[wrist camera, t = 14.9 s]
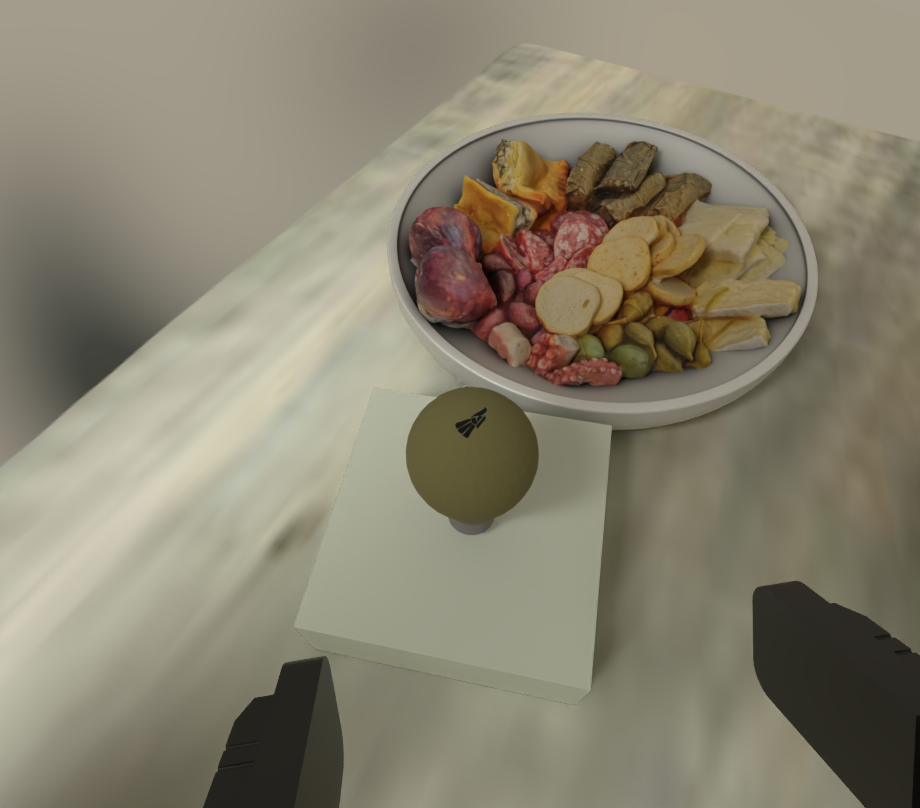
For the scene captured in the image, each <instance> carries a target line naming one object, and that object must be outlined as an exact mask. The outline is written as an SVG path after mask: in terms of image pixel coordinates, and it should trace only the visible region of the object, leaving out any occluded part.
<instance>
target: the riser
mask: <svg viewBox="0 0 920 808" xmlns="http://www.w3.org/2000/svg"><path fill="white" fill-rule="evenodd" d="M436 398H437V397H432V396H426V395H419V394H413V393H407V392H401V391H395V390H389V389H382V388H376V387H374V388H373V391H372V394H371V397H370V400H369V403H368V406H367V409H366V412H365V415H364V418H363V421H362V424H361V427H360V429H359V432H358V435H357V438H356V441H355V444H354V447H353V450H352V453H351V456H350V459H349V462H348V465H347V468H346V471H345V474H344V477H343V480H342V483H341V486H340V489H339V492H338V495H337V498H336V501H335V504H334V507H333V510H332V513H331V516H330V519H329V522H328V525H327V527H326V530H325V533H324V536H323V539H322V542H321V545H320V548H319V551H318V554H317V557H316V560H315V563H314V566H313V569H312V572H311V575H310V578H309V581H308V584H307V587H306V590H305V593H304V596H303V599H302V602H301V605H300V608H299V611H298V614H297V617H296V620H295V623H294V625H293V627H294V628H295V629H296V630H297V631H298V632H299V633H300V634H301V635H302V636H303V637H304V638H305V639H306V640H307V641H308V642H309V643H310V644H311V645H312V646H313V647H314V648H315V649H317V650H322V651H327V652H331V653H336V654H340V655H345V656H350V657H354V658H359V659H363V660H368V661H373V662H377V663H382V664H386V665H391V666H396V667H400V668H405V669H409V670H414V671H419V672H423V673H428V674H433V675H437V676H442V677H446V678H451V679H456V680H460V681H465V682H469V683H474V684H479V685H483V686H488V687H492V688H497V689H502V690H506V691H511V692H515V693H520V694H525V695H529V696H534V697H538V698H543V699H548V700H552V701H557V702H562V703H566V704H571V705H576V704H577V703H578V702H579V701H580V700H581V699H582V698H583V697H584V696H585V695H586V694H587V693H588V692H590V691H591V681H592V668H593V656H594V643H595V631H596V618H597V606H598V594H599V581H600V569H601V556H602V544H603V531H604V519H605V507H606V494H607V482H608V469H609V457H610V445H611V432H612V426H611V425H605V424H599V423H592V422H586V421H580V420H574V419H568V418H562V417H555V416H549V415H543V414H537V413H531V412H524V411H523V412H524V413H525V414H526V416H527V417H528V419H529V420H530V422H531V424H532V426H533V429H534V431H535V433H536V437H537V441H538V449H539V461H538V468H537V472H536V475H535V477H534V480H533V483H532V485H531V487H530V489H529V490H528V492H527V493H526V495H525V496H524V497H523V498H522V500H521V501H520V502H519V503H518V504H517V505H516V506H515V507H514V508H512V509H511V510H509V511H508V512H506V513H505V514H503V515H501V516H498V517H496V518H494V521H493V523H492V525H491V526H490V527H489V528H488V529H487V530H486V531H485V532H483V533H481V534H477V535H465V534H462V533H460V532H458V531H457V530H456V529H454V527H453V526H452V525H451V523H450V522H449V518H448V517H446V516H444V515H442V514H440V513H438V512H437V511H435V510H434V509H433V508H431V507H430V506H429V505H428V504H427V503H426V502H425V501H424V500H423V499H422V497H421V496H420V495H419V494H418V493H417V491H416V489H415V487H414V486H413V484H412V482H411V479H410V476H409V473H408V469H407V464H406V445H407V439H408V435H409V432H410V430H411V427H412V425H413V423H414V421H415V420H416V418H417V417H418V415H419V413H420V412H421V411H422V410H423V409H424V408H425V407H426V406H427V405H428V403H430V402H431V401H433V400H434V399H436Z"/></svg>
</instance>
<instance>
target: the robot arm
mask: <svg viewBox="0 0 920 808" xmlns="http://www.w3.org/2000/svg"><path fill="white" fill-rule="evenodd" d="M753 659H754V667H755V671H756V674H757V677H758V680H759V682H760V685H761V687H762V689H763V690H764V692H765V693H766V695H767V696H768V697H769V699H770V700H771V701H772V702H773V703H774V704H775V706H776V707H777V708H778V709H779V710H780V711H781V712H782V713H783V715H784V716H785V717H786V718H787V719H788V720H789V721H790V723H791V724H792V725H793V726H794V727H795V728H796V729H797V730H798V732H799V733H800V734H801V735H802V736H803V737H804V738H805V740H806V741H807V742H808V743H809V744H810V745H811V746H812V748H813V749H814V750H815V751H816V752H817V753H818V754H819V755H820V757H821V758H822V759H823V760H824V761H825V762H826V763H827V765H828V766H829V767H830V768H831V769H832V770H833V771H834V773H835V774H836V775H837V776H838V777H839V778H840V779H841V780H842V782H843V783H844V784H845V785H846V786H847V787H848V788H849V790H850V791H851V792H852V793H853V794H854V795H855V796H856V798H857V799H858V800H859V801H860V802H861V803H862V804H863V805H864V807H865V808H920V655H918V654H917V653H912V652H911V649H910V648H909V647H907V646H906V645H905V644H903V643H902V642H901V641H899V640H898V639H896V638H892V637H891V636H890V633H888V632H887V631H885V630H884V629H883V628H881V627H880V626H879V625H877V624H876V623H874V622H873V621H872V620H870V619H869V618H868V617H866V616H864V615H862V614H859V613H857V612H855V611H852V610H850V609H847V608H845V607H843V606H840V605H838V604H836V603H832V604H830V603H829V602H827V601H826V600H825V599H823V598H822V597H821V596H819V595H818V594H817V593H815V592H814V591H813V590H811V589H810V588H809V587H807V586H806V585H805V584H803V583H802V582H799V581H792V582H786V583H780V584H773V585H767V586H761V587H757V588H756V589H755V591H754V593H753ZM343 761H344V756H343V738H342V730H341V724H340V719H339V713H338V708H337V702H336V697H335V692H334V686H333V681H332V675H331V670H330V665H329V661H328V659H327V657H326V656H323V657H317V658H311V659H305V660H298V661H292V662H286V663H284V664H283V666H282V669H281V672H280V676H279V679H278V683H277V686H276V689H275V693H274V695H270V696H264V697H258V698H254V699H253V700H252V702H251V703H250V704H249V705H248V706H247V707H246V709H245V710H244V711H243V712H242V713H241V714H240V716H239V717H238V718H237V719H236V720H235V722H234V725H233V727H232V730H231V733H230V735H229V738H228V741H227V744H226V751H224V752H223V755H222V757H221V760H220V763H219V766H218V772H216V774H215V777H214V779H213V782H212V785H211V787H210V790H209V793H208V796H207V798H206V801H205V804H204V807H203V808H339V803H340V794H341V785H342V776H343Z"/></svg>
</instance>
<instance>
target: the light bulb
mask: <svg viewBox="0 0 920 808" xmlns="http://www.w3.org/2000/svg"><path fill="white" fill-rule="evenodd" d="M538 461H539V449H538V441H537V437H536V433H535V431H534V429H533V426H532V424H531V422H530V420H529V419H528V417H527V416H526V414H525V413H524V412H523V410H522V409H521V408H520V407H519V406H518V405H517V404H516V403H515V402H513V401H512V400H510V399H509V398H507V397H506V396H504V395H502V394H500V393H498V392H495V391H493V390H489V389H485V388H479V387H466V388H459V389H455V390H451V391H449V392H447V393H445V394H442V395H440V396H439V397H437V398H436V399H434V400H433V401H431V402H430V403H428V405H427V406H426V407H425V408H424V409H423V410H422V411H421V412H420V413H419V415H418V417H417V418H416V420H415V421H414V423H413V425H412V427H411V430H410V432H409V435H408V439H407V445H406V464H407V469H408V473H409V476H410V479H411V482H412V484H413V486H414V487H415V489H416V491H417V493H418V494H419V495H420V496H421V497H422V499H423V500H424V501H425V502H426V503H427V504H428V505H429V506H430V507H431V508H433V509H434V510H435V511H437V512H438V513H440V514H442V515H444V516H446V517H448V518H449V522H450V523H451V525H452V526H453V527H454V529H456V530H457V531H458V532H460V533H462V534H465V535H477V534H481V533H483V532H485V531H486V530H487V529H488V528H489V527H490V526H491V525H492V523H493V521H494V518H496V517H498V516H501V515H503V514H505V513H506V512H508V511H509V510H511V509H512V508H514V507H515V506H516V505H517V504H518V503H519V502H520V501H521V500H522V498H523V497H524V496H525V495H526V493H527V492H528V490H529V489H530V487H531V485H532V483H533V480H534V477H535V475H536V472H537V468H538Z"/></svg>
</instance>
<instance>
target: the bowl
mask: <svg viewBox="0 0 920 808" xmlns="http://www.w3.org/2000/svg"><path fill="white" fill-rule="evenodd" d="M387 254H388V264H389V270H390V276H391V281H392V285H393V289H394V292H395V295H396V298H397V301H398V303H399V306H400V308H401V311H402V313H403V315H404V317H405V319H406V321H407V322H408V324H409V326H410V327H411V329H412V331H413V332H414V334H415V335H416V337H417V338H418V339H419V341H420V342H421V343H422V345H423V346H424V347H425V348H426V349H427V351H428V352H429V353H430V354H431V355H432V356H433V357H434V358H435V359H436V361H437V362H439V363H440V364H441V365H442V366H443V367H444V368H445V369H446V370H447V371H448V372H450V373H451V374H452V375H453V376H455V377H456V378H457V379H458V380H460V381H461V382H462V383H464V384H465V385H467V386H468V387H479V388H485V389H489V390H493V391H495V392H498V393H500V394H502V395H504V396H506V397H507V398H509V399H510V400H512V401H513V402H515V403H516V404H517V405H518V406H519V407H520V408H521V409H522V410H523V411H524V412H531V413H537V414H543V415H549V416H555V417H562V418H568V419H574V420H580V421H586V422H592V423H599V424H605V425H611V426H612V430H632V429H644V428H653V427H659V426H664V425H670V424H674V423H678V422H682V421H686V420H689V419H692V418H695V417H699V416H701V415H704V414H706V413H709V412H712V411H714V410H716V409H718V408H720V407H722V406H725V405H727V404H729V403H731V402H732V401H734V400H736V399H738V398H739V397H741V396H743V395H744V394H746V393H747V392H748V391H750V390H751V389H753V388H754V387H756V386H757V385H758V384H760V383H761V382H762V381H763V380H765V379H766V378H767V377H768V376H769V375H770V374H771V373H772V372H773V371H774V370H775V369H776V368H777V367H778V366H779V365H780V364H781V363H782V362H783V361H784V359H785V358H786V357H787V356H788V354H789V353H790V352H791V350H792V349H793V348H794V346H795V345H796V344H797V342H798V341H799V339H800V338H801V336H802V334H803V333H804V331H805V329H806V327H807V325H808V323H809V321H810V319H811V316H812V313H813V310H814V307H815V303H816V299H817V292H818V267H817V260H816V255H815V251H814V247H813V245H812V242H811V239H810V236H809V234H808V232H807V230H806V228H805V226H804V224H803V222H802V220H801V218H800V217H799V215H798V214H797V212H796V211H795V209H794V208H793V207H792V205H791V204H790V203H789V201H788V200H787V199H786V198H785V196H784V195H783V194H782V193H781V192H780V191H779V190H778V189H777V188H776V187H775V186H774V185H773V184H772V183H771V182H770V181H769V180H768V179H767V178H766V177H765V176H763V175H762V174H761V173H760V172H759V171H757V170H756V169H755V168H753V167H752V166H751V165H749V164H748V163H746V162H745V161H744V160H742V159H741V158H739V157H737V156H736V155H734V154H732V153H731V152H729V151H727V150H726V149H724V148H722V147H720V146H718V145H716V144H714V143H712V142H710V141H708V140H706V139H703V138H701V137H699V136H696V135H694V134H691V133H689V132H686V131H683V130H680V129H677V128H674V127H671V126H668V125H664V124H660V123H657V122H653V121H648V120H644V119H639V118H633V117H627V116H620V115H611V114H598V113H561V114H549V115H541V116H534V117H528V118H523V119H518V120H514V121H510V122H506V123H503V124H499V125H496V126H493V127H490V128H487V129H485V130H482V131H480V132H477V133H475V134H473V135H470V136H468V137H466V138H464V139H462V140H461V141H459V142H457V143H455V144H453V145H452V146H450V147H449V148H447V149H445V150H444V151H443V152H441V153H440V154H438V155H437V156H436V157H435V158H433V159H432V160H431V161H430V162H429V163H427V164H426V165H425V166H424V167H423V168H422V169H421V170H420V171H419V172H418V173H417V174H416V176H415V177H414V178H413V179H412V180H411V182H410V183H409V184H408V186H407V187H406V189H405V190H404V192H403V194H402V195H401V197H400V199H399V201H398V203H397V205H396V207H395V210H394V213H393V215H392V219H391V222H390V227H389V232H388V242H387Z"/></svg>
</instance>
